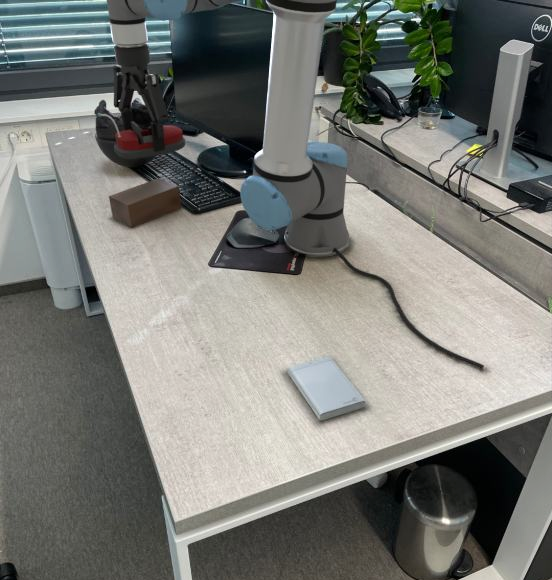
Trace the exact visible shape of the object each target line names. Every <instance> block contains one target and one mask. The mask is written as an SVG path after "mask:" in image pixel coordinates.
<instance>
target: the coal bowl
mask: <svg viewBox="0 0 552 580" xmlns="http://www.w3.org/2000/svg"><path fill="white" fill-rule="evenodd" d="M131 107H132V109H131V110H128V111H133V118H134V122H135V123H136V124H137V125H138V126H139V128H140V131H144V130H148V127H151V122H152V119H151V117H150V114H149V112H148V110H147V108H146V106H145V103H143V102H142V101H141V98H140V97H135V98H133V99H132V102H131ZM98 113H100V114H107V115H108V116H110V117H111V118H112V119H113V120H114V121H115V123H116V125H117V127H118V130H119V132H121V131H124V127H123V123H122V117H121V113H119V114H118V115H117V116H116V115H114V114H113V113H112V112H111V111H110V110H108V107H107V102H106V100H105V99H101V100H100V101H99V102H98V106H96V108H95V109H94V115H95V133H94V138H95V141H96V143H97V146H98V148H99V149H100V151H101V152H102V154H103V155H104V156H105V157H106V158H107V159H109V160H110V161H111V162H113V163H115V164H116V165H119V166H122V167H126V168H140V167H142V165H143V166H145V165H148V164H149V163H151V162H152V161H153V160H154V159H155V158H156V157H157V156H151V157H145V158H136V159H125V158H122V157H120V156H118V155H117V154H116V153H115V152H114V145H115V144H117V142H116V136H115V134H116V133H118V132H117V129H116V127H115V124H114V123H113V121H112V120H111V119H110V118H109V117H107V116H101V117H98V116H97V114H98Z"/></svg>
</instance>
